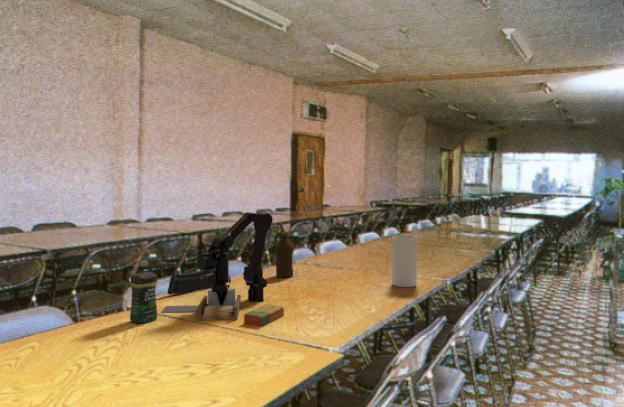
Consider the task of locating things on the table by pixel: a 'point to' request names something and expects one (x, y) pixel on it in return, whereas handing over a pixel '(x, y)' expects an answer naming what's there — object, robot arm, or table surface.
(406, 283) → the cylinder vase
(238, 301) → the rack
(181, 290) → the magazine
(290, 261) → the olive oil
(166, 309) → the mat
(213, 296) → the block
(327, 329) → the table surface
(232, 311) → the offcut stack
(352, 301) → the table surface
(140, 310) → the coffee jar
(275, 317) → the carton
